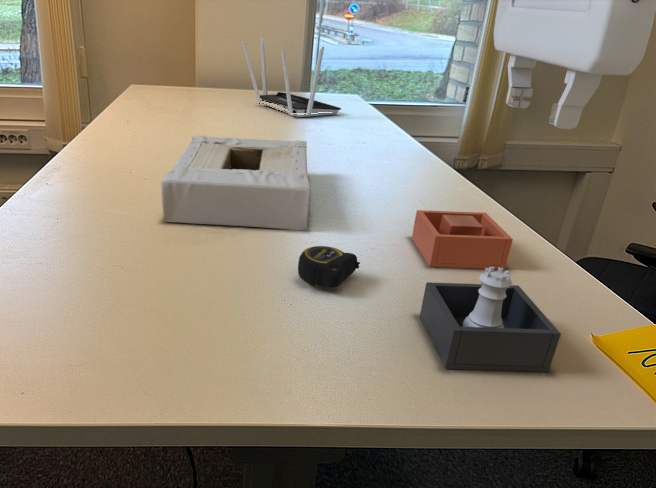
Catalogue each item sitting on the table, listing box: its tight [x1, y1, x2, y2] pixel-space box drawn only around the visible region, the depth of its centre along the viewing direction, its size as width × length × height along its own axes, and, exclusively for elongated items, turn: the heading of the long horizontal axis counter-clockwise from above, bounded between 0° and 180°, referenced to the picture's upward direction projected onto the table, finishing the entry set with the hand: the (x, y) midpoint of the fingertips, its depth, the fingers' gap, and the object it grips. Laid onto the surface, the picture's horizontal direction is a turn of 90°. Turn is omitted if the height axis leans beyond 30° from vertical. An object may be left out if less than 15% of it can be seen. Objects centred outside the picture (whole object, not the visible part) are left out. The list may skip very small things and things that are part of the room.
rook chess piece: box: [463, 267, 513, 328], centre depth 62 cm, size 4×4×8 cm
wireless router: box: [241, 36, 342, 118], centre depth 177 cm, size 34×23×20 cm
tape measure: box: [297, 245, 361, 289], centre depth 75 cm, size 7×7×4 cm
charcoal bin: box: [419, 281, 562, 373], centre depth 63 cm, size 11×11×5 cm
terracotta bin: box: [411, 209, 513, 270], centre depth 85 cm, size 11×11×5 cm
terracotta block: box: [439, 215, 483, 236], centre depth 85 cm, size 4×4×4 cm
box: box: [160, 135, 311, 231], centre depth 104 cm, size 23×8×32 cm
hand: (537, 116), depth 53 cm, fingers open, 8 cm apart
